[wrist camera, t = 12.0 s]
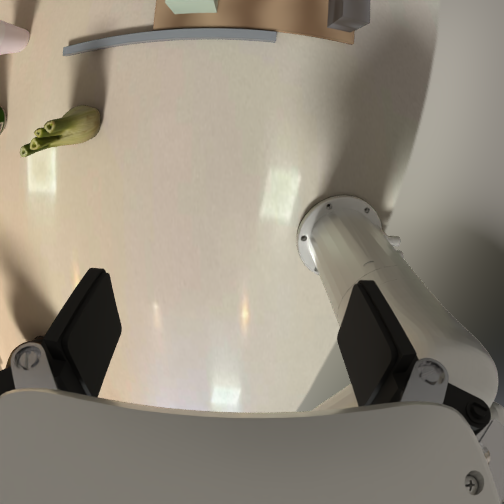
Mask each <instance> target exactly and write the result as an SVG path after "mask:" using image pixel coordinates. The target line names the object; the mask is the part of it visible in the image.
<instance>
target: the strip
mask: <svg viewBox="0 0 504 504" xmlns="http://www.w3.org/2000/svg"><path fill="white" fill-rule="evenodd" d="M369 23H370V0H218V7H217V13H186V14H174V13H173V12H172V10H171V9H170V8H169V7H168V6H167V4H166V3H165V0H156V7H155V16H154V25H153V30H154V31H159V30H172V29H192V28H231V29H251V30H264V31H275V32H284V33H292V34H299V35H305V36H312V37H317V38H323V39H328V40H333V41H338V42H343V43H347V44H351V45H352V44H354V31H355V30H357V29H359V28H361V27H363V26H365V25H367V24H369Z"/></svg>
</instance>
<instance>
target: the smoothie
mask: <svg viewBox="0 0 504 504" xmlns="http://www.w3.org/2000/svg"><path fill="white" fill-rule="evenodd" d="M29 38H30V34H29V31H28V30H26V29H23V28H20V27H18V26H15V25H12V24H10V23H7V22H4V21H1V20H0V55H2V54H8V53H15V52H20V51H22V50H23V49H24V48H25V47H26V45H27V44H28V41H29Z"/></svg>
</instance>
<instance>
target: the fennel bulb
mask: <svg viewBox="0 0 504 504" xmlns="http://www.w3.org/2000/svg"><path fill="white" fill-rule="evenodd" d="M100 126H101V125H100V113H99V112H98V110H97V109H96V108H93V107H89V106H86V105H80V106H77V107H74V108H72V109H70V110H69V111H68V112H67V113H66V114H65V115H64V116H63V117H62V118H59V119H54V120H50V121H48V122H47V123H46V124H45V125H44V128H38V129H37V130H36V131H35V132H34V134H35V135H36V136H37V137H35V138H33V139H32V140H31V143H29V144H27V145H24V146H22V147H21V150H20V155H21V157H26V156H29V155H31V154H33V153H35V152H38V151H41V150H43V149H47V148H50V147H57V146H62V145H73V144H79V143H83V142H86V141H88V140H89V139H92V138H93V137H95V136H96V135H97V133H98V132H99V130H100Z"/></svg>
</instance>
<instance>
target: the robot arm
mask: <svg viewBox="0 0 504 504" xmlns="http://www.w3.org/2000/svg"><path fill="white" fill-rule="evenodd" d="M327 204H329V205H328V206H326V205H327ZM365 208H366V209H365ZM302 236H304V237H302ZM400 242H401V240H400V237H397V236H387V235H386V234H385V232H384V231H383V230H382V225H381V221H380V218H379V216H378V214H377V212H376V211H375V210H374V209H373V208H372V207H371V206H370V205H369V204H368V203H367V202H365V201H364V200H362V199H360V198H357V197H354V196H348V195H341V196H334V197H330V198H327V199H325V200H323V201H321V202H319V203H318V204H317V205H315V206H314V207H313V208H312V209H311V210H310V211H309V212H308V213H307V214H306V215H305V217H304V218H303V220H302V221H301V224H300V226H299V229H298V233H297V248H298V253H299V255H300V258H301V260H302V261H303V263H304V265H305V266H306V267H307V268H308V269H309V270H310V271H312V272H313V273H315V274H317V275H319V276H320V277H321V280H322V282H323V285H324V287H325V290H326V292H327V295H328V298H329V300H330V303H331V305H332V308H333V310H334V313H335V316H336V318H337V321H338V323H339V326H340V329H339V332H338V337H337V340H338V344H339V348H340V350H341V353H342V357H343V360H344V363H345V365H346V369H347V371H348V375H349V378H350V381H351V384H350V385H348V386H347V387H345V388H344V389H342V390H341V391H340V392H338V393H337V394H335V395H334V396H332V397H331V398H329V399H328V400H326V401H325V402H323V403H322V404H320V405H319V406H317V407H316V408H315V409H313V410H312V411H305V412H304V411H303V412H277V413H236V412H211V411H195V410H183V409H172V408H163V407H155V406H147V405H140V404H133V403H126V402H120V401H115V400H109V399H103V398H98V395H99V392H100V389H101V386H102V383H103V380H104V377H105V375H106V372H107V369H108V366H109V364H110V361H111V358H112V356H113V353H114V350H115V348H116V345H117V343H118V340H119V337H120V335H121V330H122V327H121V322H120V318H119V314H118V310H117V306H116V302H115V298H114V293H113V289H112V284H111V279H110V275H109V273H106V271H105V270H104V269H99V268H90V269H89V270H88V271H87V272H86V274H85V275H84V277H83V278H82V280H81V281H80V282H79V284H78V285H77V287H76V288H75V290H74V291H73V293H72V294H71V296H70V297H69V299H68V300H67V302H66V303H65V305H64V306H63V308H62V309H61V311H60V312H59V314H58V315H57V317H56V319H55V320H54V322H53V323H52V325H51V327H50V328H49V330H48V332H47V333H46V335H45V337H44V338H43V342H42V343H41V345H40V344H37V343H26V344H23V345H21V346H19V347H18V348H17V349H16V350H15V351H14V353H13V354H12V357H11V366H10V367H8V368H6V369H4V370H1V371H0V504H504V408H503V407H502V406H501V405H499V404H498V403H496V402H494V398H495V396H496V393H497V389H498V373H497V369H496V366H495V364H494V362H493V360H492V358H491V357H490V355H489V353H488V352H487V351H486V349H485V348H484V347H483V346H482V344H481V343H480V342H479V341H478V340H477V339H476V338H475V337H474V336H473V335H472V334H471V333H470V332H469V331H468V330H467V329H466V328H465V327H464V326H463V325H461V324H460V323H459V322H458V321H457V320H456V319H455V318H454V317H453V316H452V315H451V314H450V313H449V312H448V311H447V310H446V309H445V308H444V307H443V305H441V303H440V302H439V301H438V300H437V299H436V297H435V296H434V295H433V294H432V293H431V292H430V290H429V289H428V288H427V287H426V286H425V285H424V283H423V282H422V281H421V279H420V278H419V277H418V276H417V275H416V273H415V272H414V271H413V270H412V269H411V267H410V266H409V265H408V264H407V262H406V261H405V260H404V259H403V253H402V251H400V250H395V249H394V247H393V246H399V245H400Z"/></svg>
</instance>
